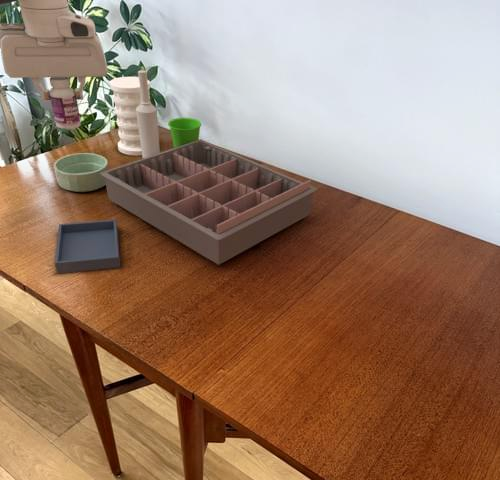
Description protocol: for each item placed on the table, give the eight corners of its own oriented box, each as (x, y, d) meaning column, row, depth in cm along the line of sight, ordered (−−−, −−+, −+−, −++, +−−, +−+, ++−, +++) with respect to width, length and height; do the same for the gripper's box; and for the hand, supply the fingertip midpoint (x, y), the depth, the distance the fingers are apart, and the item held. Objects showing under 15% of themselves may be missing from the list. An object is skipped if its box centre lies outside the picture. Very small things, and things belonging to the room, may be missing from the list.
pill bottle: (72, 131, 102) (62, 83, 95) (51, 127, 103) (40, 79, 96) (86, 123, 105) (77, 76, 99) (66, 120, 107) (56, 73, 100)
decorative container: (110, 147, 139) (99, 81, 126) (140, 137, 145) (132, 73, 133) (135, 158, 133) (126, 91, 121) (165, 148, 140) (159, 82, 128)
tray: (57, 273, 92) (54, 263, 91) (61, 233, 103) (58, 223, 101) (120, 267, 95) (118, 257, 93) (117, 229, 105) (116, 219, 104)
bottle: (157, 178, 125) (146, 75, 108) (140, 174, 126) (127, 72, 109) (165, 170, 129) (157, 70, 112) (149, 167, 130) (137, 67, 113)
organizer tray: (201, 167, 131) (200, 131, 124) (313, 219, 112) (319, 180, 105) (105, 204, 114) (97, 164, 107) (218, 273, 94) (218, 230, 88)
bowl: (56, 195, 116) (51, 176, 112) (59, 172, 125) (55, 154, 122) (111, 191, 118) (108, 172, 115) (110, 169, 128) (107, 151, 124)
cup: (207, 159, 135) (206, 120, 128) (195, 171, 129) (194, 131, 121) (178, 154, 137) (175, 115, 129) (165, 166, 131) (162, 126, 123)
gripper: (-12, 26, 86) (10, 105, 96) (101, 27, 91) (112, 102, 100) (-8, 19, 91) (13, 95, 100) (100, 21, 95) (111, 93, 105)
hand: (63, 99), depth 100 cm, fingers closed on pill bottle, 5 cm apart
